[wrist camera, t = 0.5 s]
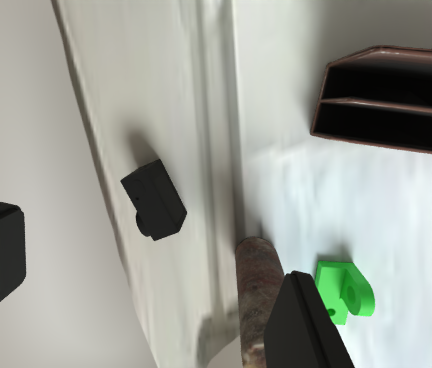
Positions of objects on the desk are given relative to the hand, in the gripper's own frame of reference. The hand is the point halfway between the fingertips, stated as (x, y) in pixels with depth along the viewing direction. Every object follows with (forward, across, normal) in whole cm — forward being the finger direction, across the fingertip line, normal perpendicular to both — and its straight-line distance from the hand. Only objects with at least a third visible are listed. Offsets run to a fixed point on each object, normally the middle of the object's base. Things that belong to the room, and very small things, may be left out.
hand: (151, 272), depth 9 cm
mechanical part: (+32, -26, +22) cm, 46 cm away
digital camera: (+31, +7, +10) cm, 34 cm away
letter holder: (+32, -23, -10) cm, 41 cm away
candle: (+31, -12, +18) cm, 38 cm away
